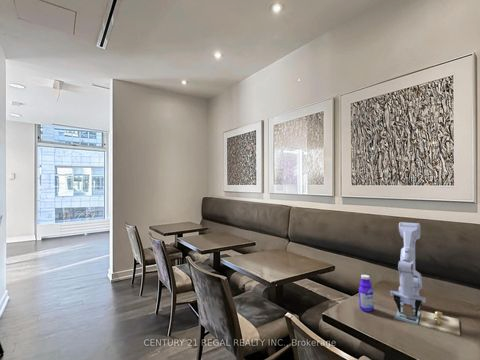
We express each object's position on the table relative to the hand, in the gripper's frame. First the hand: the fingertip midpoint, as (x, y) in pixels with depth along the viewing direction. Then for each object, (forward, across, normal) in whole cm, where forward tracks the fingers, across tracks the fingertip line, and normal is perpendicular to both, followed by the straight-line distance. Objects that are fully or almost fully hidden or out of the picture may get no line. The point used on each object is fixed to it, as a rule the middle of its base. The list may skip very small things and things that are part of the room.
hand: (407, 313), depth 130 cm
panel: (+1, 0, 0) cm, 1 cm away
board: (+1, +12, +1) cm, 12 cm away
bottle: (+2, -18, -4) cm, 19 cm away
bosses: (+1, +12, +1) cm, 12 cm away
